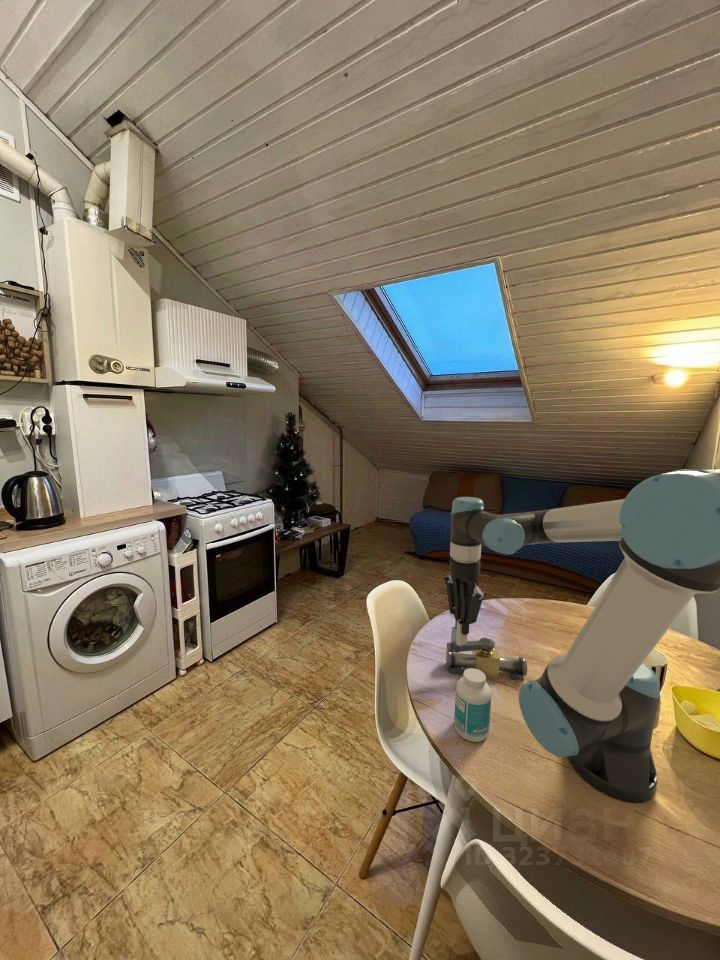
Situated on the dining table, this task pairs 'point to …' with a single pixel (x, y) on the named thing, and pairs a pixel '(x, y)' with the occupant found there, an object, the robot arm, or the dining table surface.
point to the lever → (470, 644)
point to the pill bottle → (472, 706)
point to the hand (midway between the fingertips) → (461, 643)
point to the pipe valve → (487, 664)
